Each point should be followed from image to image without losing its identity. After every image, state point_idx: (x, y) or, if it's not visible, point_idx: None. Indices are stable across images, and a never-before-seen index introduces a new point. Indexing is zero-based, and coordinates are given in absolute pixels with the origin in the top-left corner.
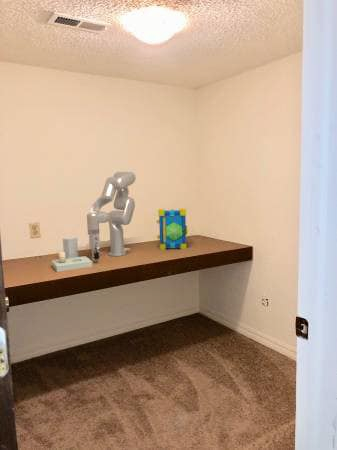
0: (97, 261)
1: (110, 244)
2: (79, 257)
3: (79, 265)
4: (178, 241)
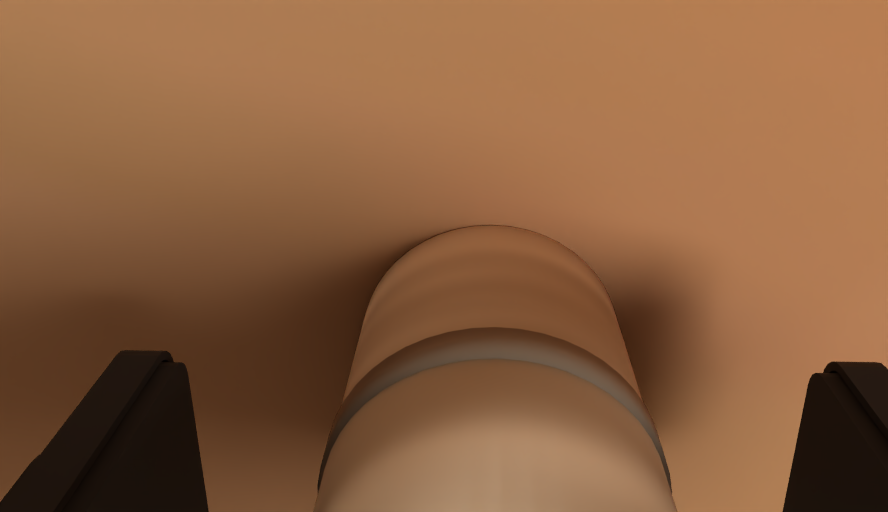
0: (605, 296)
1: None
2: None
3: None
4: None
